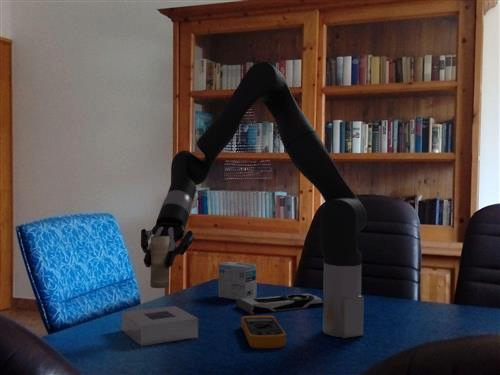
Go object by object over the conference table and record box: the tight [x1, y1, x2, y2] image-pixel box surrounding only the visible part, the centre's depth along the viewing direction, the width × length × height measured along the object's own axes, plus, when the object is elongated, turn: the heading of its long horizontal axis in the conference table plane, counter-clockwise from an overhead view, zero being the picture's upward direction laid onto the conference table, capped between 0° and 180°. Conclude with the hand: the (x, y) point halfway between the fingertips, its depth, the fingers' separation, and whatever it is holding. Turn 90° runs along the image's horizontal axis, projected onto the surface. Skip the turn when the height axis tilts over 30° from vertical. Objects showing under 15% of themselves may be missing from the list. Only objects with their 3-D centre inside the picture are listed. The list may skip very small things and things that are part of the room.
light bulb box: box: [217, 261, 258, 300], centre depth 173 cm, size 11×7×11 cm, turn 58°
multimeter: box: [240, 314, 287, 350], centre depth 131 cm, size 9×18×3 cm, turn 8°
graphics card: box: [235, 293, 323, 316], centre depth 161 cm, size 10×3×25 cm
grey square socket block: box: [121, 305, 199, 347], centre depth 133 cm, size 14×14×4 cm
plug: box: [149, 235, 170, 289], centre depth 133 cm, size 4×4×12 cm
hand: (156, 265), depth 131 cm, fingers closed on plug, 4 cm apart
